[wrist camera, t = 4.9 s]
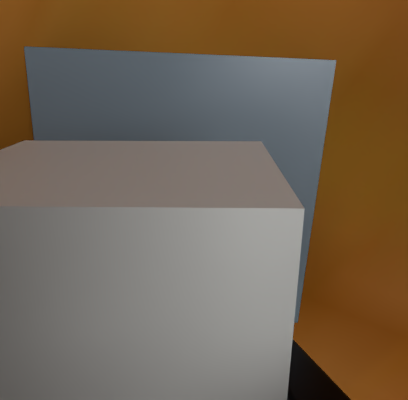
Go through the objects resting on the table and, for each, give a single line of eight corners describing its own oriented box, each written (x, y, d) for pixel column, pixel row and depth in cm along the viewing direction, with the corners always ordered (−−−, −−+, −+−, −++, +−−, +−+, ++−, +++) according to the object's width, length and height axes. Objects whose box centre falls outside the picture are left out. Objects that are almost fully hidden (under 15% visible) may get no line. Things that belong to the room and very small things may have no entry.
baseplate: (325, 60, 16) (336, 60, 15) (291, 304, 20) (297, 322, 18) (40, 48, 16) (24, 46, 15) (63, 293, 20) (52, 310, 19)
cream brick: (260, 141, 8) (304, 208, 4) (247, 427, 11) (266, 627, 7) (24, 140, 8) (-142, 205, 4) (68, 423, 11) (-10, 618, 7)
